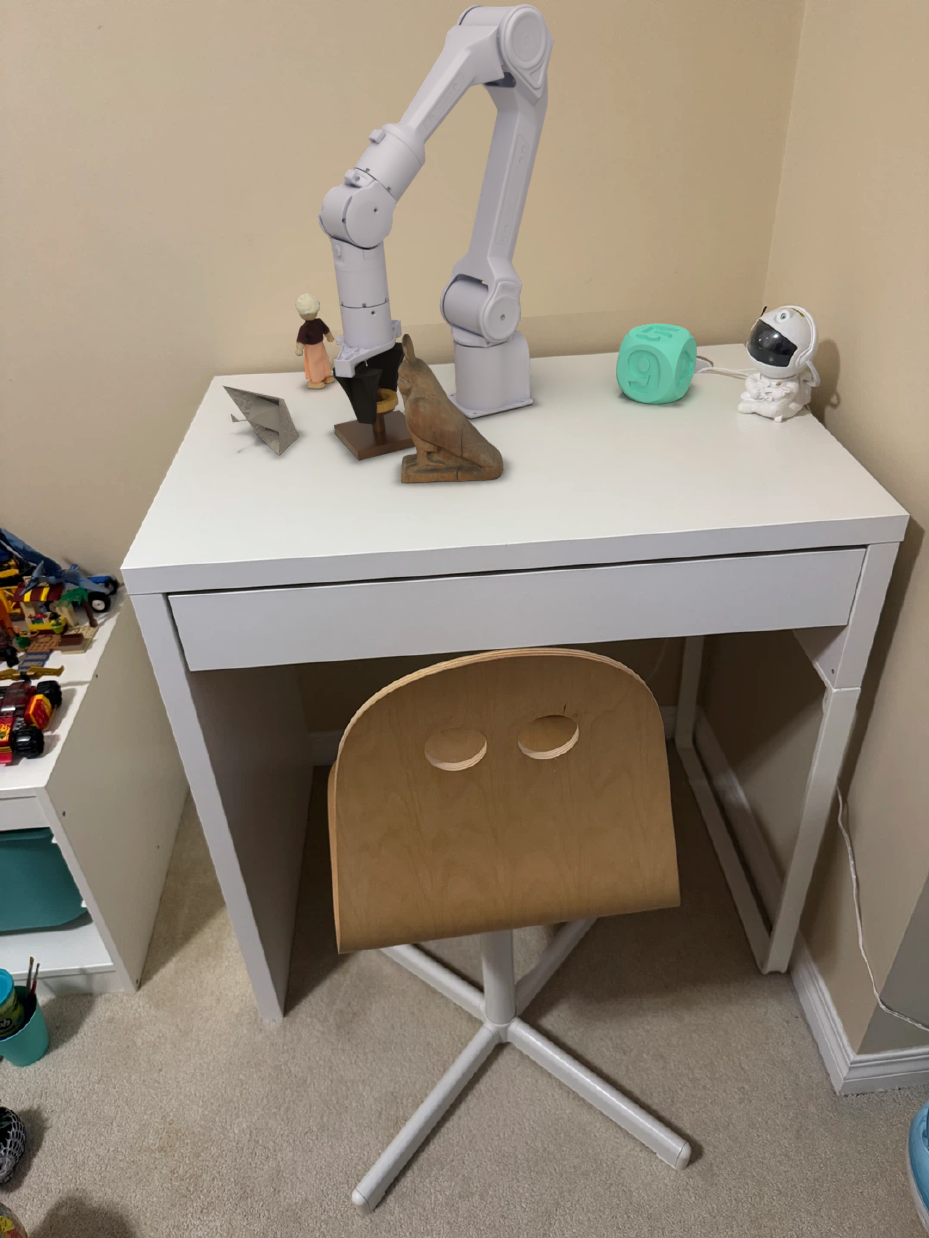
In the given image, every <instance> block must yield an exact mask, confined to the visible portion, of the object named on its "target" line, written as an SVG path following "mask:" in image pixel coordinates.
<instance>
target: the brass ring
mask: <svg viewBox="0 0 929 1238" xmlns="http://www.w3.org/2000/svg"><path fill="white" fill-rule="evenodd" d="M381 393H382V399H386V400H384V401H381V402H377V413H381V412H386V411H389V410H391V409H394V408H395V409H396V408H397V406H398V405H399V396H398V392H397V393H396V392H395V391H392V390H390V389H381Z"/></svg>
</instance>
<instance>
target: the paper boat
mask: <svg viewBox="0 0 929 1238" xmlns="http://www.w3.org/2000/svg"><path fill="white" fill-rule="evenodd" d="M222 387H223V389H224V390H225V392H226V393H227V394H228V396H229V397H230V399H231V400H232V401H233V403H234V404H235V405H236V407H237V408H238V409H239V411H240V413H241V414H242V415H243V416H244V418H245V419H241V420H239V419H238V418H237V417H236V416H234V414H232V413H230V417H231V422H232V423H240V422H245V421H247V422H248V424H249V425H250V426H251V427H252V429H253V430H254V431H255V433H256V435H257V436H258V437H259V438H260V439H261V440H262V441H264V442H265V444H267V446H268V447H270V448H271V449H272V451H274V452H275V453H276V454H277V455H278V456H280V455H282V454H283V453H284V451H285V450H287V448H289V447H290V445H292V444H293V443H294V442H295V441H296V440H297V439H298V438H299V437H300V436H299V433H298V431H297V428H296V426H295V423H294V421H293V418H292V415H291V413H290V411H289V407H288V405H287V402H286V400H285V399H284V398H282V397H277V396H272V395H269V394H268V395H267V394H264V393H259V392H254V391H250V390H245V389H240V388H235V387H230V386H225V385H222Z"/></svg>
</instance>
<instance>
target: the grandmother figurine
mask: <svg viewBox="0 0 929 1238" xmlns="http://www.w3.org/2000/svg"><path fill="white" fill-rule="evenodd" d="M295 309H296V310H297V312H298V315H299V317H300V318H301V319H302V320H304V323H303V324H302V325H301V326H300V327H299V329H298V332H297V337H296V349H295V355H296V356H297V357H302V356H303V355H304V359H303V360H304V377H305V379H306V380H309V381H308V382H307V384H306V387H307V389H314V390H315V389H316V390H321V389H324V388H326V386H327V384H331V383H334V382H335V380H336V379H335V378H334V376H332V375H333V371H332V368H331V362H330V357H329V355H328V353H327V349H326V346H325V343H324V338H325V339H326V341H327V342H328V343H333V342H335V337H334V335H333V334H332V332H331V329H330V326H328V325H327V324H326V323H325V322H324V321H323V319H322V318H320V317H317V316H318V314H319V313H318V312H320V309H321V303H320V301H319V298H317V297H316V296H314V294H312V293H309V292H308V293H302V294H300V295H299V296H298V297H297V298H296V300H295Z"/></svg>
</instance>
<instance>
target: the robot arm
mask: <svg viewBox="0 0 929 1238" xmlns="http://www.w3.org/2000/svg"><path fill="white" fill-rule="evenodd" d="M554 42H555V40H554V38H553V35H552V33H551V31H550V29H549V26H548V25H547V22H546V20H545V18H544V15H543V14H542V12H541V11H540V10H539V9H538V8H537V7H535V6H534V5H531V4H529V3H528V4H526V3H522V4H518V5H509V6H508V5H507V6H501V5H500V6H485V5H481V4H475V5H471V6H469V7H467V8H465V9H464V10H463V11H462V13H461V14H460V15H459V17H458V19H457V21H456V24H454V25H452V27H451V28H450V29H449V30H448V31H447V33H446V35H445V40H444V45H443V48H442V51H441V52H440V54H439V56H438V57H437V59H436V60H435V62H434V64H433V66H432V67H431V69H430V71H429V73H427V75H426V77H425V79H424V81H423V82H422V84H421V85H420V87H419V89H418V90H417V92H416V94H415V95H414V97H413V98H412V100H411V102H410V103H409V105H408V107H407V108H406V110H405V112H404V113H403V115H402V117H401V118H400V120H399V121H398V122H391V123H390V122H388V123H385V124H383V125H382V126H381V127H380V128H374V129H373V130H372V131H371V133H370V135H368V140H369V141H370V143H369V145H368V146H367V147H366V149H365V150H364V152H363V153H362V155H361V156H360V157H359V159H358V160H357V162H356V163H355V165H354V166H353V168H352V169H350V168H349V169H347V171H346V172H345V174H344V175H343V178H344V183H340V184H338V185H337V186H333V187H331V188H330V189H329V190H328V191H327V192H326V194H325V196H324V197H323V199H322V202H321V209H320V213H319V214H317V221H318V224H319V227H320V229H321V230H322V232H323V233H324V234H325V235H326V236H327V237H328V239H329V241H330V245H331V252H332V257H333V267H334V273H335V279H336V289H337V296H338V303H339V310H340V318H341V319H340V320H341V325H342V333H343V334H340V335H338V336H337V337H336V338H335V344H336V345H337V346H340V349H339V352H338V354H337V357H335V358H334V359H333V364H334V367H333V368H332V377H333V378H334V380H336V382H337V383H338V384H339V385H340V387H341V388H342V389H343V391H344V393H345V394H346V396H347V399H348V400H349V403H350V405H351V408H352V410H353V413H354V415H355V417H356V420H358V422H359V423H363V424H374V423H375V422H376V418H377V389H378V386H380V387H381V389H390V390H392V391H395V392H396V393H397V394H398V384H397V381H398V379H399V373H398V369H399V366H400V364H401V363H402V362H403V361H404V360H405V358H406V357H405V355H404V352H403V348H402V342H399V341H396V340H397V339H399V338H400V337H402V336H403V333H402V321H401V319H392V314H391V303H390V292H389V283H388V273H387V264H386V263H387V262H386V253H385V243H384V240H385V238H387V237H388V236H389V235H390V233H391V231H392V227H393V219H394V218H393V217H394V211H395V209H396V208H397V204H398V202H399V201H400V199H402V197H403V195H404V194H405V193H406V191H407V189H408V188H409V187H410V185H411V184H412V182H413V181H414V179H416V177H417V175H418V174H419V172H420V171H421V169H422V168H423V166H424V165H425V164H426V149H425V144H426V143H427V142H428V141H429V139H431V137H432V136H433V135H434V133H435V132H436V130H437V129H438V128H439V127H440V126H441V124H442V123H443V121H444V120H445V119H446V118H447V116H448V115H449V114H450V113H451V111H452V110H453V109H454V108H455V106H456V105H457V104H458V103H459V101H460V100H461V99H462V98H463V96H464V95H465V94H466V93H467V91H468V90H469V89H470V88H471V87H475V86H477V85H481V86H482V87H483V88H484V89H485V90H486V91H487V93H488V95H489V96H490V99H491V100H492V102H493V104H494V106H495V108H496V110H497V111H496V117H495V122H494V127H493V130H492V131H493V132H492V136H491V141H490V146H489V150H488V155H487V161H486V165H485V170H484V175H483V180H482V184H481V189H480V193H479V199H478V203H477V208H476V213H475V217H474V223H473V227H472V232H471V237H470V240H469V241H470V242H469V246H468V251H467V252H466V253H465V254H464V255H463V256H462V257H461V258H459V260H457V261H456V262H455V263H454V265H453V266H452V269H451V274H450V278H449V280H448V282H447V283H446V285H445V286H444V288H443V290H442V292H441V295H440V299H439V311H440V315H441V317H442V319H443V321H444V322H445V323H446V324H447V325H449V326H450V327H449V329H450V335H452V344H453V345H452V346H453V347H452V348H453V363H454V378H455V379H454V380H455V381H454V382H455V393H450V394H447V397H448V398H449V399H450V400H451V401H452V403H453V404H454V405H455V406H456V407H457V408H458V409H459V410H460V411H461V412H462V413H463V415H464V416H465V417H466V418H467V419H474V418H479V417H484V416H488V415H492V414H497V413H500V412H504V411H508V410H513V409H516V408H520V407H525V406H529V405H532V404H533V403H534V399H532V398H531V353H530V349H529V345H528V341H527V339H526V337H525V335H524V334H523V333H522V332H521V331H519V330H517V329H518V328H519V324H520V322H521V317H522V307H521V293H522V288H523V281H522V280H521V278H520V276H519V274H518V272H517V271H516V269H515V267H514V265H513V257H514V254H515V249H516V246H517V240H518V236H519V233H520V227H521V224H522V220H523V219H522V218H523V215H524V211H525V205H526V202H527V197H528V193H529V189H530V184H531V180H532V175H533V171H534V167H535V163H536V157H537V154H538V150H539V144H540V141H541V136H542V132H543V128H544V124H545V118H546V114H547V111H548V110H547V109H548V104H549V87H548V86H549V84H548V68H549V64H550V60H551V56H552V51H553V46H554ZM483 282H485V283H483Z"/></svg>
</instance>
